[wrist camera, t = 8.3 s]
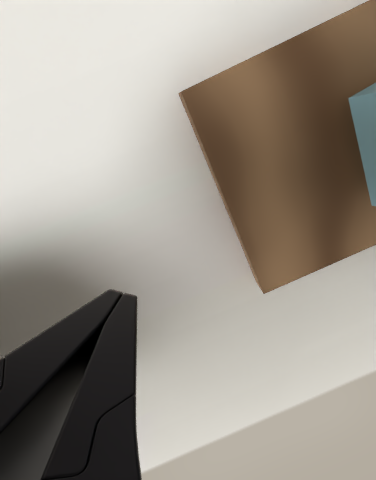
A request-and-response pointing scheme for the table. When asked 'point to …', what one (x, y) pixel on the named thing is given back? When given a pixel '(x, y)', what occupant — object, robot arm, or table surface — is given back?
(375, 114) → the block
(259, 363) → the table surface
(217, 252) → the table surface
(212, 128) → the board
